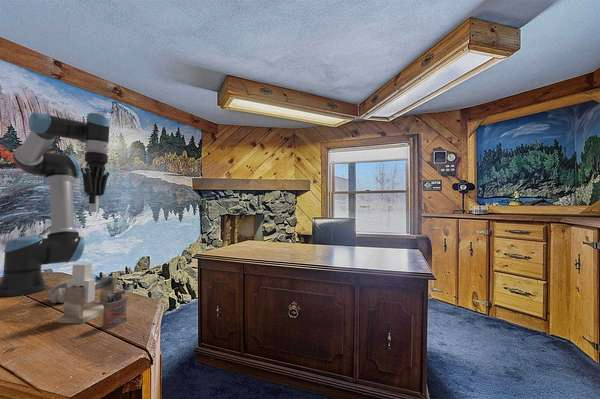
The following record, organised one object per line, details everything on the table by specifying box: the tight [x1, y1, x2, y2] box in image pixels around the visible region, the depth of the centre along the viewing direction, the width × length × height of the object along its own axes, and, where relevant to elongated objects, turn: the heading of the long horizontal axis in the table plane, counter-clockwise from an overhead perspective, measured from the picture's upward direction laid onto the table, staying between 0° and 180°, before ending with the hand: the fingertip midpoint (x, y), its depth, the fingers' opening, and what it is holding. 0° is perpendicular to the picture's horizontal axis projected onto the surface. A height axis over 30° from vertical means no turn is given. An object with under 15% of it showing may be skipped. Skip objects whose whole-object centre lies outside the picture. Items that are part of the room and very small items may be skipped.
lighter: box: [101, 289, 128, 330], centre depth 90 cm, size 8×3×10 cm, turn 168°
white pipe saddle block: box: [66, 262, 97, 304], centre depth 95 cm, size 3×7×12 cm, turn 88°
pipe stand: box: [57, 275, 118, 324], centre depth 100 cm, size 18×8×11 cm, turn 178°
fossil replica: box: [45, 278, 72, 304], centre depth 113 cm, size 12×8×10 cm
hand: (93, 211), depth 116 cm, fingers closed
